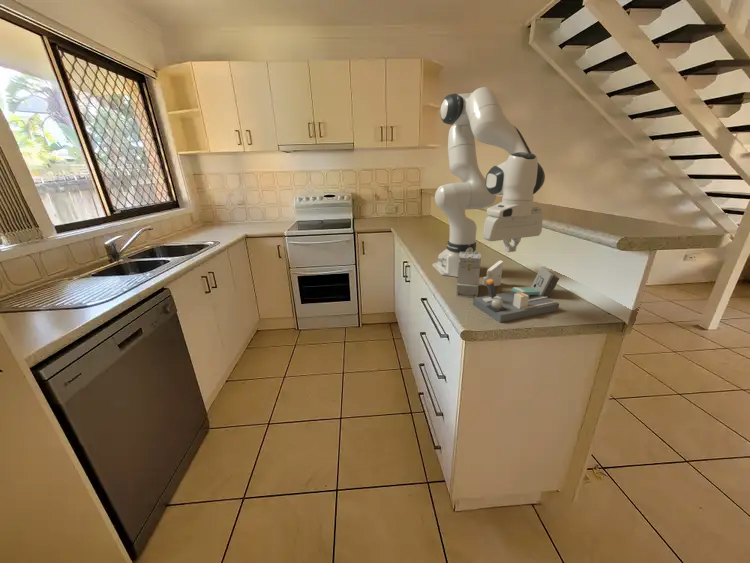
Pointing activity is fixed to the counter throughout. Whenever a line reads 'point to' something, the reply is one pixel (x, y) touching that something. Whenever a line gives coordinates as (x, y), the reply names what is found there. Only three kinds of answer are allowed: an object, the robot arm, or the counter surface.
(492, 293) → the toggle lever
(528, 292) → the teal tile cream strip
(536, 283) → the electrical switch
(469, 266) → the circuit breaker
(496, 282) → the white angled block
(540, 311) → the panel
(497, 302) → the button
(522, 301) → the cream cube orange stripe
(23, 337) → the counter surface
